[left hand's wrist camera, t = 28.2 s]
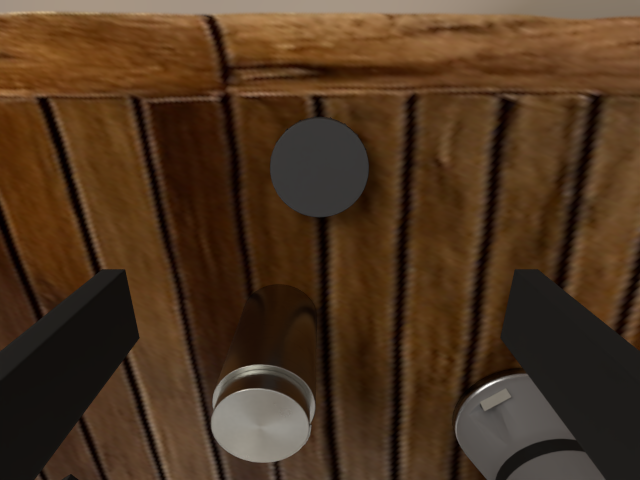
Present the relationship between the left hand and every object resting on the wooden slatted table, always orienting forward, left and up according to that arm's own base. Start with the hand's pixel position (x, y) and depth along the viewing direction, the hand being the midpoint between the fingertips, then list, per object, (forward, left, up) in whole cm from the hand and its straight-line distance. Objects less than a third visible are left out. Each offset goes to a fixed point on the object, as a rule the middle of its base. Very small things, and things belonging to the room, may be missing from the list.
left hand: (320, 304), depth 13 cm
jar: (-17, +6, -26) cm, 31 cm away
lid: (0, 0, -24) cm, 24 cm away
